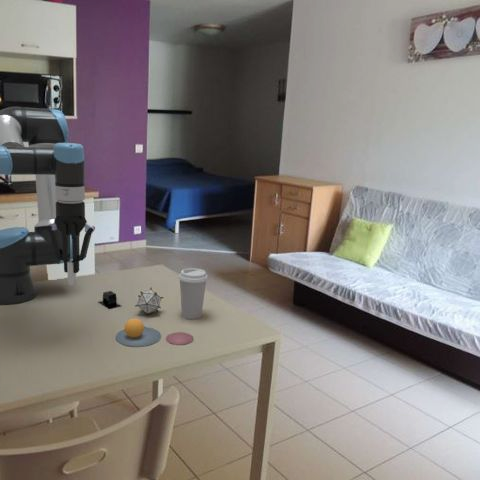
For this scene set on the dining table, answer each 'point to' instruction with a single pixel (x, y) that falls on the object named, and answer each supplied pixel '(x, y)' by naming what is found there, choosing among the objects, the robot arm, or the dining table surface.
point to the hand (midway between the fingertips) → (72, 283)
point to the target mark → (139, 338)
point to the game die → (149, 301)
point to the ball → (134, 328)
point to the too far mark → (179, 338)
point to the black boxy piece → (109, 300)
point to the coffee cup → (192, 292)
